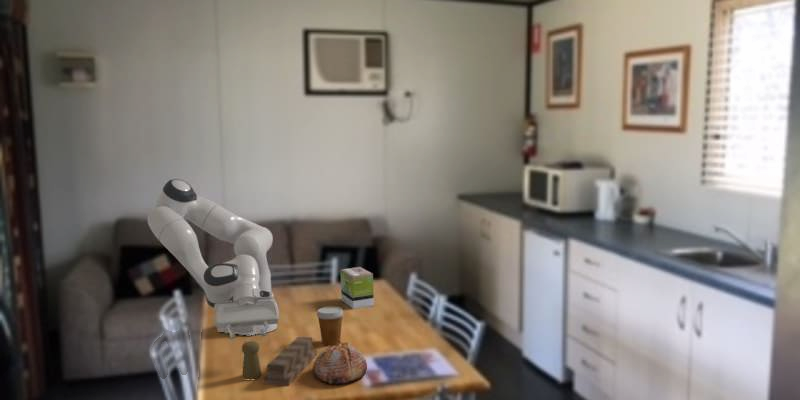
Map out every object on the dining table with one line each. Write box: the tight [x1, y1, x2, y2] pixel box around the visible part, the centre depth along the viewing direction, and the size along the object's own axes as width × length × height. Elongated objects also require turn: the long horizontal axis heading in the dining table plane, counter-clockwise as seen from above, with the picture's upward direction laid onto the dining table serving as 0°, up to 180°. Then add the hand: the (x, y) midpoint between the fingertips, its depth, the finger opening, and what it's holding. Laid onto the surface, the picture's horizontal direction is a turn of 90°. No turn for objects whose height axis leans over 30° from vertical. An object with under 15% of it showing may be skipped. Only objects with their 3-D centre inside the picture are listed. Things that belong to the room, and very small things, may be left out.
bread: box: [312, 340, 368, 386], centre depth 200 cm, size 16×20×10 cm
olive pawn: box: [241, 340, 263, 381], centre depth 199 cm, size 6×6×11 cm
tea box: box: [339, 266, 375, 310], centre depth 280 cm, size 15×10×15 cm, turn 25°
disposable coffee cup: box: [316, 306, 344, 346], centre depth 229 cm, size 10×10×12 cm
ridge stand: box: [263, 336, 318, 386], centre depth 205 cm, size 26×8×6 cm, turn 169°
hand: (247, 337), depth 204 cm, fingers open, 8 cm apart
